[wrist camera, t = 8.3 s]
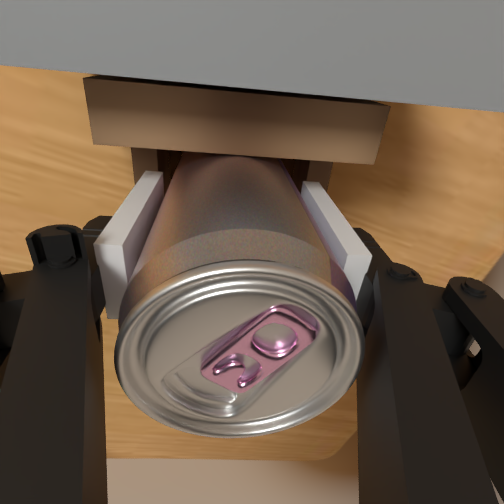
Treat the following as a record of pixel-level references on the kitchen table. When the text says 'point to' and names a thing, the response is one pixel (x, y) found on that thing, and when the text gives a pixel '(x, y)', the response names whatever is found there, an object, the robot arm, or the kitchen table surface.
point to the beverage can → (236, 305)
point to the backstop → (274, 45)
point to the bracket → (232, 124)
